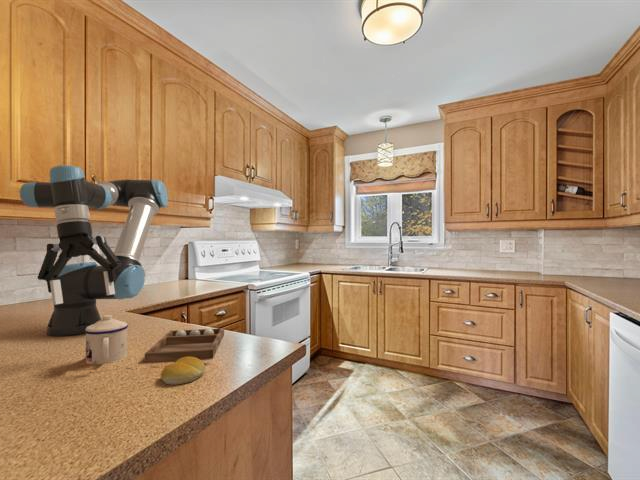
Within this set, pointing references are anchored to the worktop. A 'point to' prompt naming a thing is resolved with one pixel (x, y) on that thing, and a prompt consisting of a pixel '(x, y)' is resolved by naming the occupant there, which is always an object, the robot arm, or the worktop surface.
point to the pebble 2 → (195, 332)
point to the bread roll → (183, 371)
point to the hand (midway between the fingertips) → (84, 299)
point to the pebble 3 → (208, 332)
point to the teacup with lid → (106, 341)
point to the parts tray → (185, 346)
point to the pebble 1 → (180, 333)
